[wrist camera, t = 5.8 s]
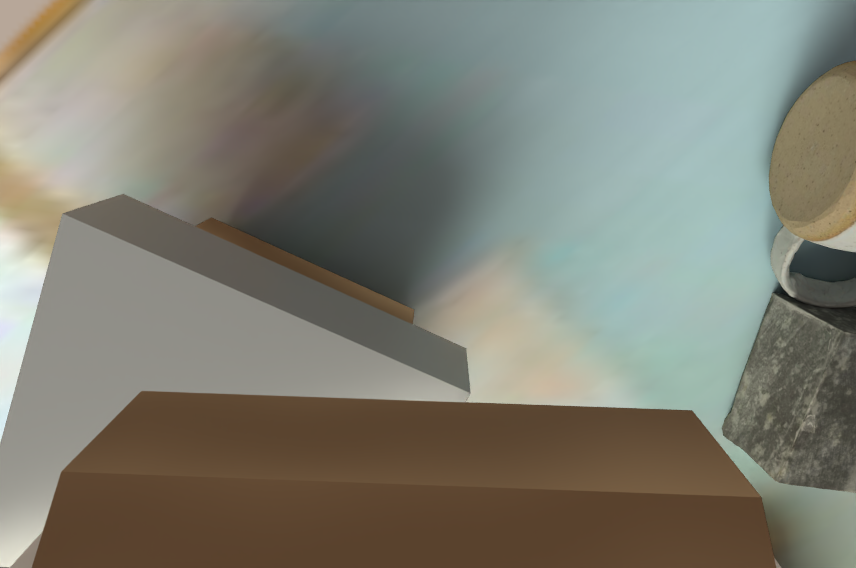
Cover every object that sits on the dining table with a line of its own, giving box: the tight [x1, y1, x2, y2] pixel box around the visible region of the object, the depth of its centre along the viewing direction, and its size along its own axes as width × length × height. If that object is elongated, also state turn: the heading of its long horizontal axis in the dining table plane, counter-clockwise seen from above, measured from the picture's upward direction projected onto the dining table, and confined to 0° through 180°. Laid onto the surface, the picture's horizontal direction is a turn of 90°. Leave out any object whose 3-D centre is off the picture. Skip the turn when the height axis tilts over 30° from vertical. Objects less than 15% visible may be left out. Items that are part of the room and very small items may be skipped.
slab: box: [0, 194, 470, 567], centre depth 22 cm, size 14×16×4 cm
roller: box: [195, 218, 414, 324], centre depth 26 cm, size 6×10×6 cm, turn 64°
